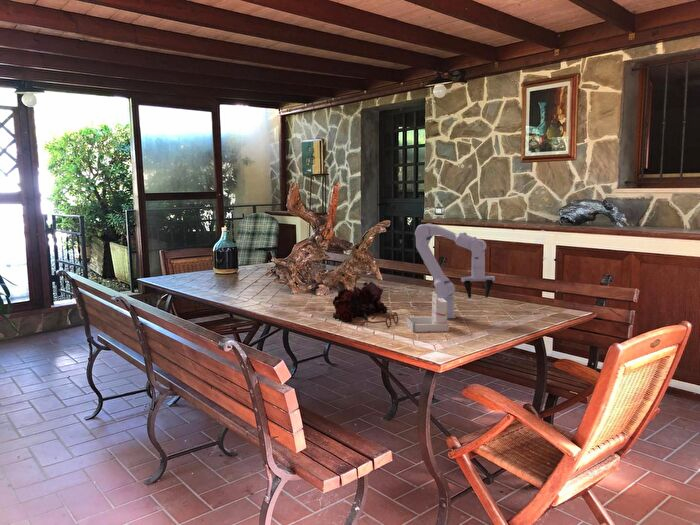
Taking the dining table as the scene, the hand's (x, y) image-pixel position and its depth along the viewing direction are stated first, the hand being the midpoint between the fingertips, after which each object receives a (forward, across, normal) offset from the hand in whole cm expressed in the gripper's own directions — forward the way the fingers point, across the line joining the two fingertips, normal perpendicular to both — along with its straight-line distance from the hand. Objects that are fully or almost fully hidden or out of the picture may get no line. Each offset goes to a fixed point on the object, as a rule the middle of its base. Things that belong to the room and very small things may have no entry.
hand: (477, 297), depth 240 cm
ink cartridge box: (+10, -20, -10) cm, 24 cm away
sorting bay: (+10, -24, -10) cm, 28 cm away
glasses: (+10, -44, 0) cm, 45 cm away
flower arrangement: (+10, -52, +17) cm, 55 cm away
